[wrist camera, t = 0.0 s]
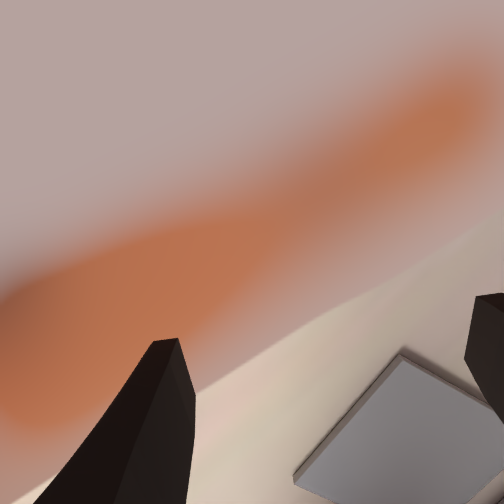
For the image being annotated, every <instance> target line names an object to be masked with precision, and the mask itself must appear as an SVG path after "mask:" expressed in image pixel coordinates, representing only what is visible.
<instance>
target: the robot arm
mask: <svg viewBox="0 0 504 504" xmlns="http://www.w3.org/2000/svg"><path fill="white" fill-rule="evenodd" d="M464 360H465V362H466V364H467V366H468V367H469V369H470V371H471V373H472V375H473V377H474V379H475V381H476V383H477V384H478V386H479V388H480V390H481V392H482V393H483V395H484V397H485V399H486V400H487V401H488V403H489V404H490V406H491V407H492V409H493V410H494V412H495V413H496V414H497V416H498V417H499V419H500V420H501V421H502V423H503V424H504V293H495V294H488V295H481V296H476V298H475V304H474V309H473V314H472V319H471V325H470V330H469V335H468V340H467V346H466V351H465V356H464ZM195 404H196V395H195V392H194V388H193V385H192V382H191V379H190V375H189V372H188V369H187V366H186V362H185V359H184V356H183V353H182V349H181V346H180V343H179V339H178V338H173V339H166V340H159V341H153V343H152V344H151V345H150V346H149V348H148V350H147V351H146V352H145V354H144V355H143V357H142V358H141V360H140V362H139V363H138V365H137V366H136V368H135V369H134V371H133V372H132V374H131V375H130V377H129V378H128V380H127V381H126V383H125V384H124V386H123V387H122V389H121V391H120V392H119V393H118V395H117V396H116V398H115V399H114V400H113V402H112V403H111V405H110V406H109V408H108V409H107V410H106V412H105V413H104V415H103V417H102V418H101V419H100V420H99V422H98V423H97V424H96V426H95V427H94V428H93V430H92V431H91V432H90V434H89V435H88V437H87V438H86V439H85V440H84V442H83V443H82V444H81V445H80V447H79V448H78V449H77V451H76V452H75V453H74V455H73V456H72V457H71V459H70V460H69V461H68V462H67V464H66V465H65V466H64V467H63V469H62V470H61V471H60V472H59V473H58V475H57V476H56V477H55V478H54V480H53V481H52V482H51V483H50V484H49V486H48V487H47V488H46V489H45V490H44V491H43V493H42V494H41V495H40V496H39V497H38V498H37V500H36V501H35V502H34V503H33V504H186V499H187V491H188V484H189V477H190V469H191V462H192V454H193V446H194V438H195Z"/></svg>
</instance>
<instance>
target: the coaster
mask: <svg viewBox="0 0 504 504" xmlns="http://www.w3.org/2000/svg"><path fill="white" fill-rule="evenodd" d="M503 469H504V424H503V423H502V421H501V420H500V419H499V417H498V416H497V414H496V413H495V412H494V410H493V409H492V407H491V406H490V405H488V404H486V403H484V402H483V401H481V400H479V399H477V398H476V397H474V396H472V395H470V394H468V393H467V392H465V391H463V390H461V389H460V388H458V387H456V386H454V385H453V384H451V383H449V382H447V381H446V380H444V379H442V378H440V377H438V376H437V375H435V374H433V373H431V372H430V371H428V370H426V369H424V368H423V367H421V366H419V365H417V364H416V363H414V362H412V361H410V360H408V359H407V358H405V357H403V356H401V355H400V354H398V355H397V357H396V358H395V359H394V360H393V361H392V362H391V364H390V365H389V366H388V367H387V368H386V369H385V371H384V372H383V373H382V374H381V375H380V376H379V377H378V379H377V380H376V381H375V382H374V383H373V384H372V386H371V387H370V388H369V389H368V390H367V391H366V392H365V394H364V395H363V396H362V397H361V398H360V399H359V401H358V402H357V403H356V404H355V405H354V406H353V407H352V409H351V410H350V411H349V412H348V413H347V414H346V416H345V417H344V418H343V419H342V420H341V421H340V422H339V424H338V425H337V426H336V427H335V428H334V429H333V431H332V432H331V433H330V434H329V435H328V436H327V437H326V439H325V440H324V441H323V442H322V443H321V444H320V446H319V447H318V448H317V449H316V450H315V451H314V452H313V454H312V455H311V456H310V457H309V458H308V459H307V461H306V462H305V463H304V464H303V465H302V466H301V467H300V469H299V470H298V471H297V472H296V473H295V474H294V476H293V480H294V485H296V486H299V487H301V488H303V489H305V490H307V491H310V492H312V493H314V494H316V495H319V496H321V497H323V498H325V499H328V500H330V501H332V502H334V503H337V504H466V503H467V502H468V501H469V500H470V499H472V498H473V497H474V496H475V495H476V494H477V493H478V492H479V491H480V490H481V489H482V488H484V487H485V486H486V485H487V484H488V483H489V482H490V481H491V480H492V479H493V478H494V477H496V476H497V475H498V474H499V473H500V472H501V471H502V470H503Z"/></svg>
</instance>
